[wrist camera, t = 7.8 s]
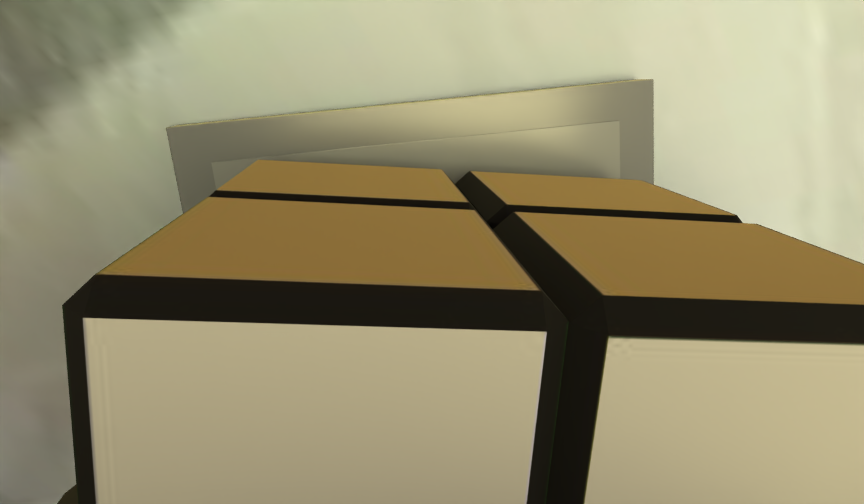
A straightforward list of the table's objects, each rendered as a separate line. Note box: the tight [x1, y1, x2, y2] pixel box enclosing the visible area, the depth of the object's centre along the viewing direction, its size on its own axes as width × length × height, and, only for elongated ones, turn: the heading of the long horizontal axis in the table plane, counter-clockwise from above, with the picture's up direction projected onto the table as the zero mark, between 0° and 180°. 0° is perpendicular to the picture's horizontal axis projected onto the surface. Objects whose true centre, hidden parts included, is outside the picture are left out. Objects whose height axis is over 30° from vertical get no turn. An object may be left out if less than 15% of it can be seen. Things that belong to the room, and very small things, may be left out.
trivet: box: [166, 79, 654, 214], centre depth 19 cm, size 13×13×1 cm
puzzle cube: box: [62, 160, 864, 504], centre depth 12 cm, size 10×10×10 cm
